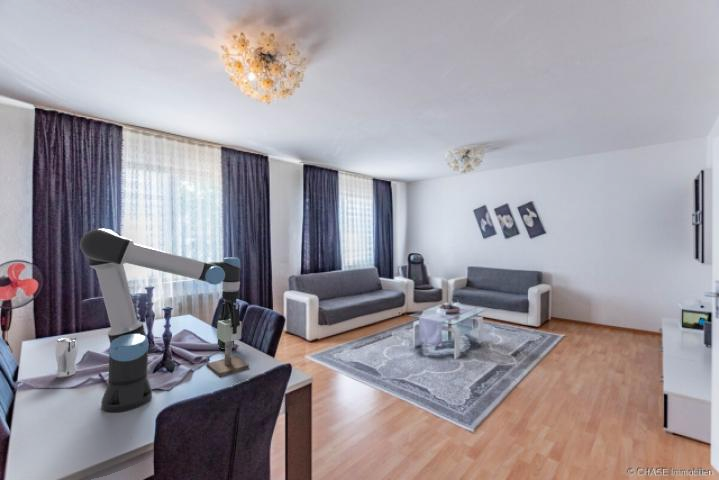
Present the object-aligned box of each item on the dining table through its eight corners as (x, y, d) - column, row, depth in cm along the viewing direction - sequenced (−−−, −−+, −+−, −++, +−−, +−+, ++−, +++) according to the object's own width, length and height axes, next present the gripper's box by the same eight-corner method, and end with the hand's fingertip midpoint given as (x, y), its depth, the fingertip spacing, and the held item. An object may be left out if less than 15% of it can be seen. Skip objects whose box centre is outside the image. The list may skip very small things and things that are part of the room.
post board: (219, 376, 140) (220, 349, 140) (206, 366, 150) (207, 341, 149) (248, 368, 150) (249, 343, 150) (235, 358, 160) (236, 335, 160)
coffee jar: (215, 346, 176) (216, 313, 175) (230, 343, 181) (231, 311, 180) (220, 351, 168) (222, 317, 168) (235, 348, 173) (237, 315, 173)
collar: (224, 342, 144) (224, 325, 144) (216, 337, 149) (217, 321, 149) (241, 338, 150) (241, 322, 150) (233, 334, 155) (234, 318, 155)
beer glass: (77, 374, 135) (79, 340, 135) (55, 379, 130) (56, 343, 130) (76, 369, 140) (77, 336, 140) (54, 374, 135) (55, 339, 135)
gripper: (249, 292, 145) (247, 342, 145) (229, 286, 159) (227, 330, 160) (233, 294, 139) (231, 345, 140) (213, 287, 154) (212, 333, 154)
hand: (229, 337), depth 150 cm, fingers closed on collar, 8 cm apart
